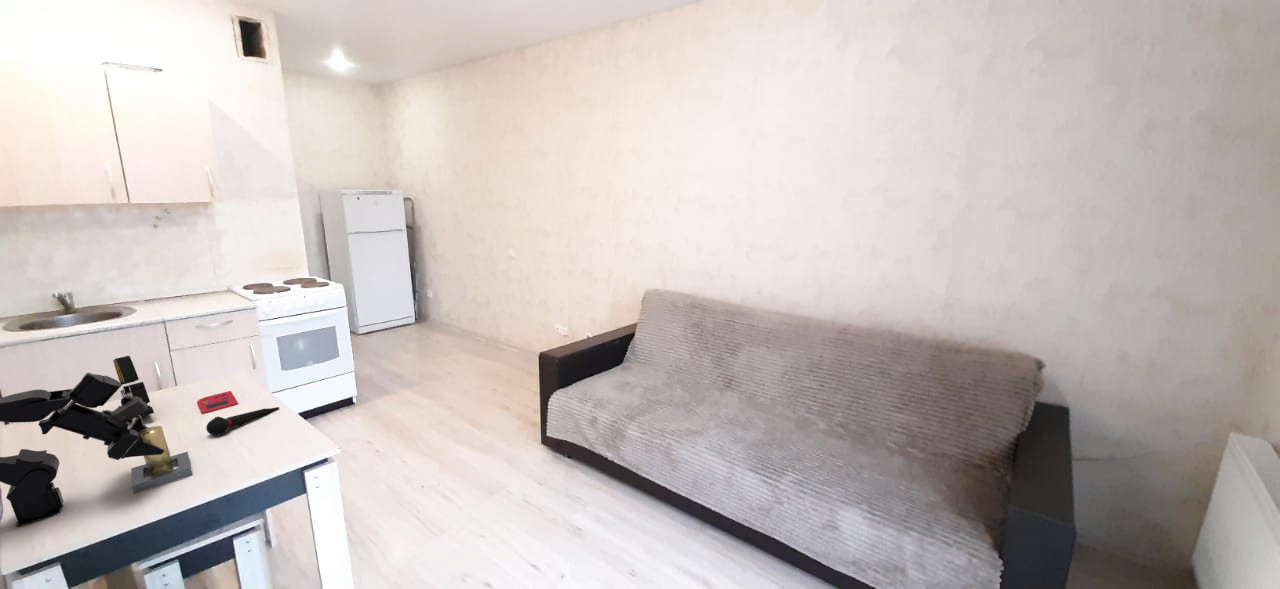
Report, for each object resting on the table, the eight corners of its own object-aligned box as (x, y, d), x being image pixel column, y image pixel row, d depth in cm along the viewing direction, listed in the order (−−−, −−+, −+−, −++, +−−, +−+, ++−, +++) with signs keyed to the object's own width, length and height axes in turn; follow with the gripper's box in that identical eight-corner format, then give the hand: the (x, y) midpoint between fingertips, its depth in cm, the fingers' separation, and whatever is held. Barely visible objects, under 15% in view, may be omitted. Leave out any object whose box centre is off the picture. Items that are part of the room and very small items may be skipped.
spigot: (150, 483, 127) (137, 437, 124) (150, 475, 130) (137, 430, 127) (175, 475, 130) (162, 430, 127) (174, 468, 134) (161, 424, 130)
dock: (133, 494, 123) (131, 486, 122) (133, 475, 131) (131, 468, 130) (192, 475, 130) (190, 467, 130) (189, 458, 138) (187, 451, 137)
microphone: (276, 417, 167) (205, 439, 149) (271, 400, 167) (200, 421, 149) (286, 415, 165) (215, 437, 147) (281, 398, 165) (210, 418, 147)
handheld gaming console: (230, 389, 180) (238, 402, 170) (231, 393, 180) (238, 406, 170) (195, 398, 173) (201, 412, 163) (196, 402, 174) (202, 416, 164)
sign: (129, 418, 169) (109, 362, 168) (142, 414, 172) (123, 359, 171) (140, 417, 156) (118, 355, 155) (154, 412, 158) (133, 352, 157)
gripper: (114, 404, 115) (189, 430, 125) (116, 381, 128) (184, 406, 138) (73, 448, 112) (154, 471, 122) (80, 420, 125) (152, 443, 135)
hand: (162, 445), depth 129 cm, fingers open, 9 cm apart
